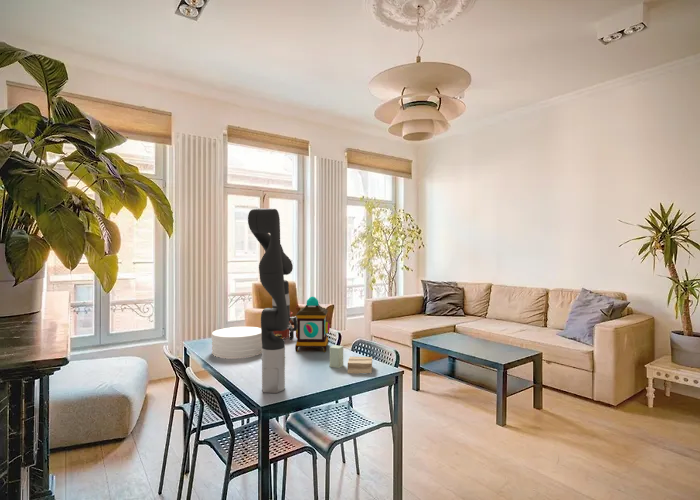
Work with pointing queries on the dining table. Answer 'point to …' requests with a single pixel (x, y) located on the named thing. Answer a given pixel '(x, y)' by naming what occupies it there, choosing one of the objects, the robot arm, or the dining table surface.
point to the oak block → (360, 365)
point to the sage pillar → (336, 356)
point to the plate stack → (237, 342)
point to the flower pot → (284, 333)
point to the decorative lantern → (312, 325)
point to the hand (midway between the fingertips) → (281, 339)
